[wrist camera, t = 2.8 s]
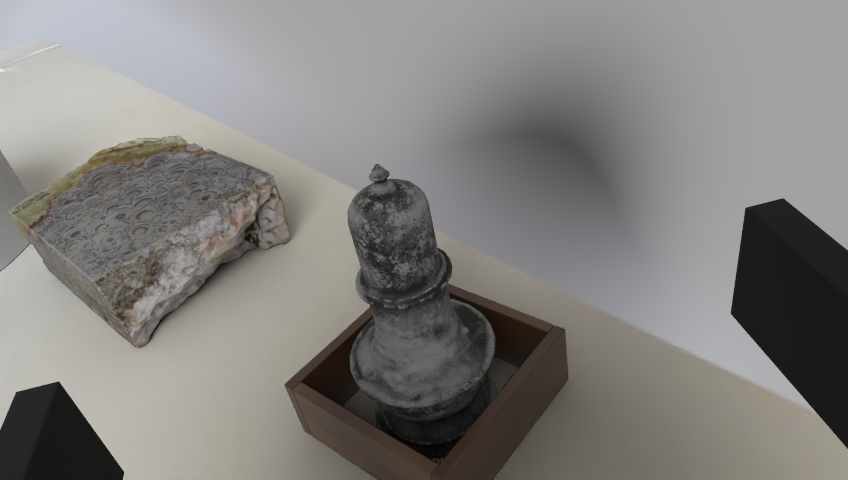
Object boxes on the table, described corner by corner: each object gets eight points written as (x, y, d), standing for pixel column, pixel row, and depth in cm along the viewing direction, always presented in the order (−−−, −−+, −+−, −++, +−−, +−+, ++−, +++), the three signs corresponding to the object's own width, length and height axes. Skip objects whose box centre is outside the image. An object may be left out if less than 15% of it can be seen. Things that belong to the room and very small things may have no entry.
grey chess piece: (342, 437, 28) (250, 202, 21) (410, 341, 32) (352, 115, 25) (467, 485, 25) (409, 231, 18) (525, 373, 29) (496, 129, 22)
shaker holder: (568, 379, 28) (565, 328, 27) (454, 530, 24) (441, 481, 22) (422, 315, 33) (411, 268, 32) (303, 430, 29) (283, 384, 27)
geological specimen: (103, 288, 31) (-16, 195, 40) (156, 372, 35) (37, 270, 44) (277, 172, 37) (140, 112, 45) (307, 255, 40) (175, 185, 49)
